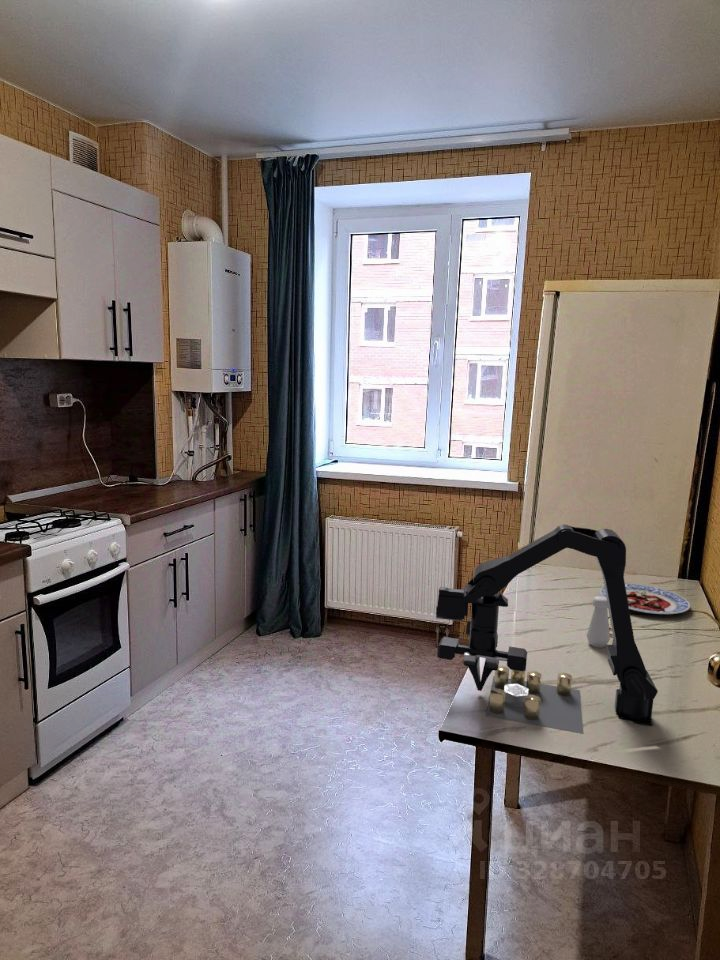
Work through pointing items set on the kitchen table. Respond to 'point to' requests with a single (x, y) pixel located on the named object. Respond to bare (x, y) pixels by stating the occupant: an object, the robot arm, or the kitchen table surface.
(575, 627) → the kitchen table surface
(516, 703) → the clear faceted crystal
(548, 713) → the mat
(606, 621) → the salt shaker
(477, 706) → the kitchen table surface
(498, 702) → the brass spacers
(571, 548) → the robot arm
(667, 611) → the ceramic plate
